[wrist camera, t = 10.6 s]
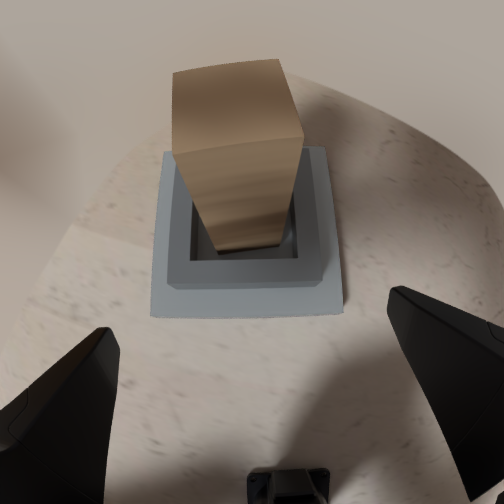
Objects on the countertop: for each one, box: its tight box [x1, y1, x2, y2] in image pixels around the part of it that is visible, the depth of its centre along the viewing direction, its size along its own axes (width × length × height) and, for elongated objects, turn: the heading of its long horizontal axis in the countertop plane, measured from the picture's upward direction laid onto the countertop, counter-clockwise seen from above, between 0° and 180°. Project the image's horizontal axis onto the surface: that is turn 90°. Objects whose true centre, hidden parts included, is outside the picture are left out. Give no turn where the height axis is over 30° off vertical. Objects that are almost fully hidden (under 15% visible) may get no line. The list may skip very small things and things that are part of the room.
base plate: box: [150, 146, 344, 318], centre depth 22 cm, size 14×14×4 cm
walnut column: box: [172, 59, 305, 255], centre depth 16 cm, size 4×4×13 cm
